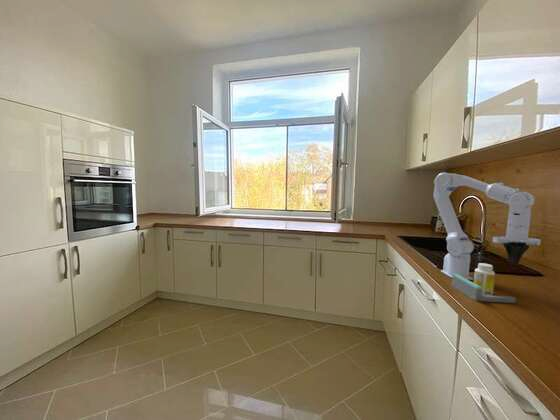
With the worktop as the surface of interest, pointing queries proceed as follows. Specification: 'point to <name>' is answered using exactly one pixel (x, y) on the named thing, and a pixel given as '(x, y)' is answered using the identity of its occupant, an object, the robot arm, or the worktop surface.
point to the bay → (476, 291)
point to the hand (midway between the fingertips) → (513, 263)
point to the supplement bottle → (485, 278)
